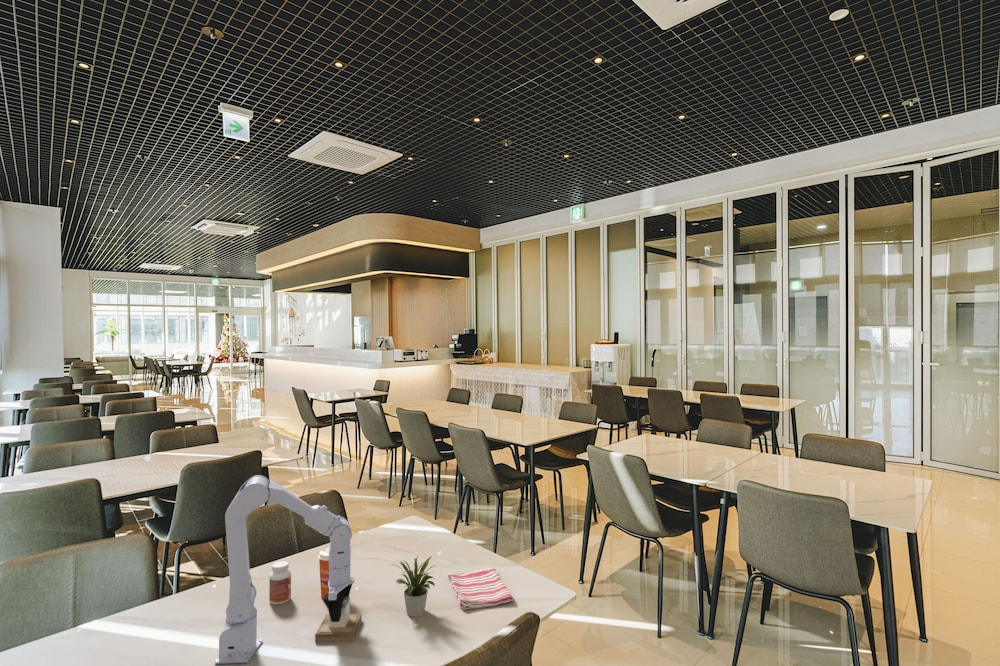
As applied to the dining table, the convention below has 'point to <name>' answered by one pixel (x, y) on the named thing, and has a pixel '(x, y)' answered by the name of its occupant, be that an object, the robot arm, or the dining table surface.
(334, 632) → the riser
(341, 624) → the cube
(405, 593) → the house plant
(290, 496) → the robot arm
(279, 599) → the pill bottle
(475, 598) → the dish towel
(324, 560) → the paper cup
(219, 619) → the dining table surface
